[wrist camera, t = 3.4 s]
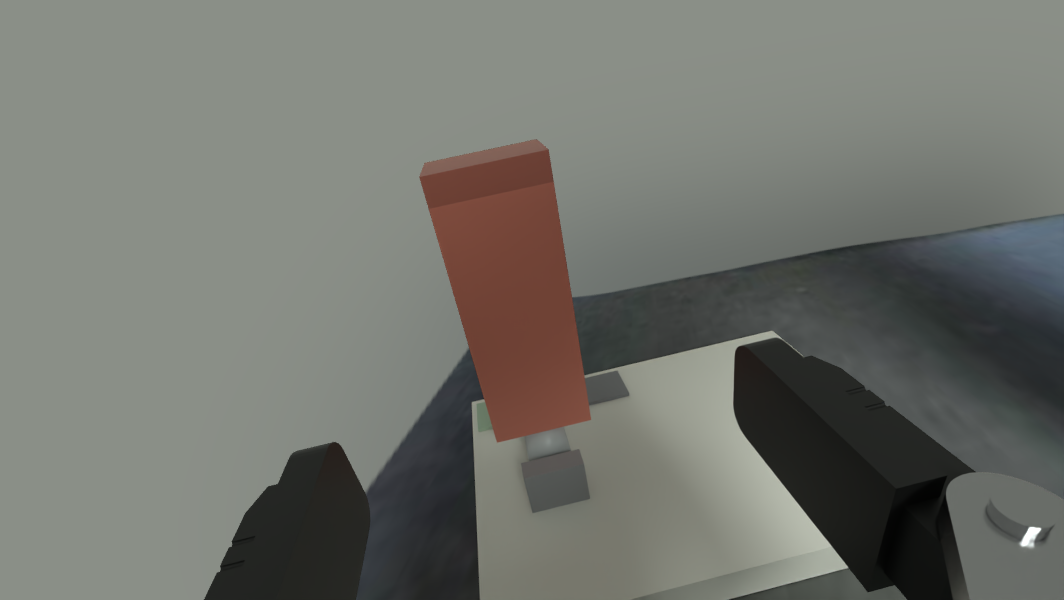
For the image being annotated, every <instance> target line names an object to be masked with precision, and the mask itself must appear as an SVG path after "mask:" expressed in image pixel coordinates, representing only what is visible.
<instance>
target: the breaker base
mask: <svg viewBox="0 0 1064 600" xmlns="http://www.w3.org/2000/svg"><path fill="white" fill-rule="evenodd" d="M770 338H780V339H782V338H781V337H779V336H778V335H777V334H776V333H774V332H773V331H769V332H765V333H761V334H756V335H752V336H748V337H744V338H740V339H735V340H731V341H727V342H723V343H719V344H714V345H710V346H706V347H702V348H697V349H693V350H689V351H685V352H681V353H676V354H672V355H668V356H664V357H660V358H655V359H651V360H647V361H643V362H639V363H634V364H630V365H626V366H622V367H618V368H613V369H609V370H605V371H601V372H597V373H592V374H588V375H584V377H585V383H586V390H587V396H588V402H589V409H590V415H591V420H589V421H585V422H581V423H577V424H573V425H568V426H564V429H565V432H566V435H567V439H568V442H569V446H570V449H571V451H569V452H565V453H561V454H557V455H553V456H549V457H544V458H540V459H536V460H532V461H529V459H528V454H527V448H526V443H525V437H524V436H523V437H519V438H515V439H511V440H507V441H502V442H498V443H497V441H496V438H495V434H494V431H493V427H492V424H491V420H490V417H489V414H488V410H487V407H486V403H485V400H484V399H483V400H479V401H475V402H472V420H473V445H474V469H475V493H476V517H477V541H478V566H479V590H480V600H729V599H732V598H736V597H740V596H744V595H747V594H751V593H755V592H759V591H763V590H766V589H770V588H774V587H778V586H781V585H785V584H789V583H793V582H797V581H800V580H804V579H808V578H812V577H815V576H819V575H823V574H827V573H831V572H834V571H838V570H842V569H846V568H848V566H847V565H846V564H845V563H844V561H843V560H842V559H841V557H840V556H839V555H838V554H837V552H836V551H835V550H834V549H833V547H832V546H831V545H830V544H829V542H828V541H827V540H826V538H825V537H824V536H823V535H822V533H821V532H820V531H819V530H818V528H817V527H816V526H815V525H814V523H813V522H812V521H811V520H810V518H809V517H808V516H807V514H806V513H805V512H804V511H803V509H802V508H801V507H800V506H799V504H798V503H797V502H796V501H795V499H794V498H793V497H792V495H791V494H790V493H789V492H788V490H787V489H786V488H785V487H784V485H783V484H782V483H781V482H780V480H779V479H778V478H777V476H776V475H775V474H774V473H773V471H772V470H771V469H770V468H769V466H768V465H767V464H766V463H765V461H764V460H763V459H762V458H761V456H760V455H759V454H758V452H757V451H756V450H755V449H754V447H753V446H752V445H751V444H750V442H749V441H748V440H747V439H746V437H745V436H744V434H743V433H742V431H741V429H740V428H739V425H738V423H737V420H736V418H735V414H734V409H733V391H734V358H735V351H736V349H737V347H739V346H741V345H745V344H750V343H754V342H758V341H762V340H766V339H770ZM782 340H783V339H782ZM783 341H784V340H783ZM786 343H787V342H786ZM787 344H788V343H787ZM788 345H789V344H788ZM792 348H793V347H792ZM793 349H794V348H793ZM794 350H795V349H794ZM798 353H799V352H798ZM799 354H800V353H799ZM803 357H804V356H803Z"/></svg>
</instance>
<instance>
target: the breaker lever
mask: <svg viewBox="0 0 1064 600" xmlns="http://www.w3.org/2000/svg"><path fill="white" fill-rule="evenodd" d="M420 181H421V184H422V187H423V191H424V194H425V198H426V201H427V204H428V208H429V211H430V215H431V218H432V222H433V225H434V229H435V232H436V235H437V239H438V242H439V246H440V249H441V252H442V256H443V259H444V263H445V266H446V270H447V273H448V276H449V280H450V283H451V287H452V290H453V294H454V297H455V301H456V304H457V307H458V310H459V314H460V317H461V321H462V325H463V328H464V331H465V334H466V338H467V341H468V345H469V348H470V352H471V355H472V359H473V362H474V366H475V369H476V372H477V376H478V379H479V383H480V386H481V390H482V393H483V396H484V400H485V403H486V407H487V410H488V414H489V417H490V420H491V424H492V427H493V431H494V434H495V438H496V441H497V443H498V442H502V441H507V440H511V439H515V438H519V437H523V436H524V437H525V443H526V448H527V454H528V459H529V461H532V460H536V459H540V458H544V457H549V456H553V455H557V454H561V453H565V452H569V451H571V449H570V446H569V442H568V439H567V435H566V432H565V429H564V426H568V425H573V424H577V423H581V422H585V421H589V420H591V415H590V409H589V402H588V396H587V390H586V383H585V377H584V371H583V364H582V358H581V352H580V346H579V339H578V333H577V327H576V320H575V314H574V308H573V301H572V295H571V289H570V283H569V276H568V270H567V264H566V257H565V251H564V244H563V238H562V232H561V226H560V219H559V213H558V206H557V200H556V194H555V188H554V181H553V175H552V169H551V162H550V156H549V150H548V149H547V148H546V147H545V146H544V145H543V144H542V143H540V142H539V141H538V140H537V139H536V140H530V141H526V142H521V143H516V144H511V145H507V146H502V147H498V148H493V149H488V150H483V151H479V152H474V153H469V154H464V155H460V156H455V157H450V158H446V159H441V160H437V161H432V162H427V163H424V166H423V169H422V172H421V174H420Z"/></svg>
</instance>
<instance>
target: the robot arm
mask: <svg viewBox="0 0 1064 600" xmlns="http://www.w3.org/2000/svg"><path fill="white" fill-rule="evenodd" d="M733 409H734V414H735V418H736V420H737V423H738V425H739V428H740V429H741V431H742V433H743V434H744V436H745V437H746V439H747V440H748V441H749V442H750V444H751V445H752V446H753V447H754V449H755V450H756V451H757V452H758V454H759V455H760V456H761V458H762V459H763V460H764V461H765V463H766V464H767V465H768V466H769V468H770V469H771V470H772V471H773V473H774V474H775V475H776V476H777V478H778V479H779V480H780V482H781V483H782V484H783V485H784V487H785V488H786V489H787V490H788V492H789V493H790V494H791V495H792V497H793V498H794V499H795V501H796V502H797V503H798V504H799V506H800V507H801V508H802V509H803V511H804V512H805V513H806V514H807V516H808V517H809V518H810V520H811V521H812V522H813V523H814V525H815V526H816V527H817V528H818V530H819V531H820V532H821V533H822V535H823V536H824V537H825V538H826V540H827V541H828V542H829V544H830V545H831V546H832V547H833V549H834V550H835V551H836V552H837V554H838V555H839V556H840V557H841V559H842V560H843V561H844V563H845V564H846V565H847V566H848V568H849V569H850V570H851V571H852V573H853V574H854V575H855V576H856V578H857V579H858V580H859V582H860V583H861V584H862V585H863V587H864V588H865V589H866V590H867V592H871V591H874V590H878V589H882V588H885V587H889V586H893V585H895V586H896V587H897V588H898V589H899V590H900V591H901V593H902V594H903V595H904V596H905V597H906V598H907V600H1064V500H1063V499H1062V498H1060V497H1059V496H1057V495H1055V494H1054V493H1052V492H1050V491H1048V490H1046V489H1044V488H1042V487H1040V486H1037V485H1035V484H1032V483H1030V482H1027V481H1024V480H1021V479H1018V478H1015V477H1011V476H1007V475H1003V474H997V473H987V472H975V471H974V470H973V469H971V468H970V467H968V466H967V465H966V464H964V463H963V462H962V461H961V460H959V459H958V458H957V457H955V456H954V455H953V454H951V453H950V452H949V451H948V450H946V449H945V448H944V447H942V446H941V445H940V444H939V443H937V442H936V441H935V440H933V439H932V438H931V437H929V436H928V435H927V434H926V433H924V432H923V431H922V430H920V429H919V428H918V427H917V426H915V425H914V424H913V423H911V422H910V421H909V420H907V419H906V418H905V417H904V416H902V415H901V414H900V413H898V412H897V411H896V410H894V409H893V408H892V407H891V406H886V405H885V403H884V401H883V400H882V399H880V398H879V397H878V396H876V395H875V394H874V393H872V392H871V391H870V390H868V391H866V390H865V386H863V385H862V384H861V383H859V382H858V381H857V380H856V379H854V378H853V377H852V376H850V375H849V374H848V373H847V372H845V371H844V370H843V369H841V368H839V367H837V366H834V365H832V364H830V363H827V362H825V361H823V360H820V359H818V358H816V357H813V356H808V357H803V356H802V355H801V354H799V353H798V352H797V351H796V350H794V349H793V348H792V347H791V346H790V345H788V344H787V343H786V342H785V341H783V340H782V339H780V338H770V339H766V340H762V341H758V342H754V343H750V344H745V345H741V346H739V347H737V349H736V351H735V358H734V391H733ZM369 527H370V510H369V503H368V499H367V496H366V494H365V492H364V490H363V488H362V486H361V484H360V482H359V480H358V478H357V476H356V474H355V472H354V470H353V468H352V466H351V464H350V462H349V460H348V458H347V456H346V454H345V452H344V450H343V449H342V447H341V446H340V445H339V444H338V443H336V442H332V443H328V444H324V445H320V446H316V447H312V448H307V449H303V450H299V451H296V452H294V453H293V454H292V455H291V456H290V458H289V460H288V462H287V465H286V467H285V469H284V471H283V474H282V476H281V478H280V481H279V483H278V484H276V485H272V486H268V487H267V488H266V490H265V491H264V492H263V493H262V494H261V495H260V497H259V498H258V499H257V500H256V501H255V502H254V504H253V505H252V506H251V507H250V508H249V510H248V511H247V512H246V513H245V515H244V517H243V519H242V521H241V523H240V526H239V528H238V530H237V532H236V534H235V536H234V538H233V540H232V547H229V549H228V551H227V553H226V555H225V557H224V559H223V561H222V563H221V566H220V567H221V571H220V572H218V573H217V574H216V576H215V578H214V580H213V582H212V584H211V586H210V588H209V590H208V593H207V595H206V597H205V599H204V600H356V596H357V591H358V586H359V581H360V575H361V570H362V565H363V560H364V554H365V549H366V544H367V539H368V533H369Z"/></svg>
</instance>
